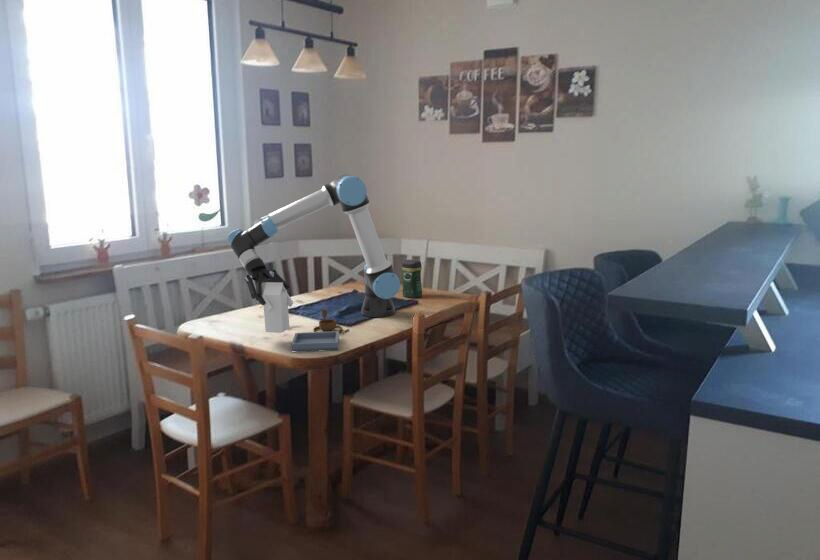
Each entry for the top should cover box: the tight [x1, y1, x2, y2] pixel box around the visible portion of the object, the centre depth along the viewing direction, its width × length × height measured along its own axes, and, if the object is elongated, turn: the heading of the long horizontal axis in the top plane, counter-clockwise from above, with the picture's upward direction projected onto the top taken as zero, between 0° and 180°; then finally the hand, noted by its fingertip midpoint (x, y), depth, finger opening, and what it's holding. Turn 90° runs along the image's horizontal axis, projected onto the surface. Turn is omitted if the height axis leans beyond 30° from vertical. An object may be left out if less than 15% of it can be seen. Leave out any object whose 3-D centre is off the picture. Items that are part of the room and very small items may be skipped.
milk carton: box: [262, 282, 290, 333], centre depth 250 cm, size 7×7×19 cm
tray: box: [291, 330, 340, 352], centre depth 247 cm, size 17×15×3 cm
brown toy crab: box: [312, 309, 350, 335], centre depth 269 cm, size 18×20×6 cm
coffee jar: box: [401, 259, 423, 299], centre depth 323 cm, size 10×8×19 cm
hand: (281, 307), depth 248 cm, fingers closed on milk carton, 9 cm apart
